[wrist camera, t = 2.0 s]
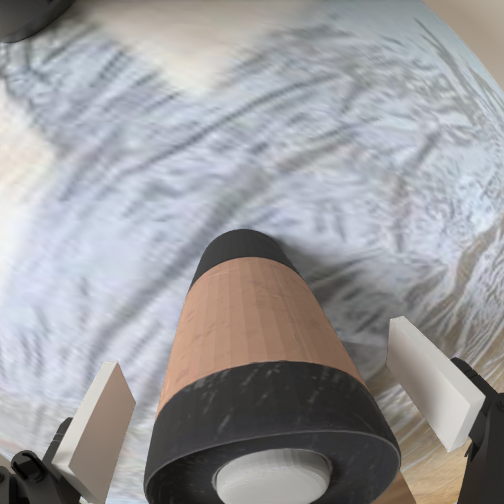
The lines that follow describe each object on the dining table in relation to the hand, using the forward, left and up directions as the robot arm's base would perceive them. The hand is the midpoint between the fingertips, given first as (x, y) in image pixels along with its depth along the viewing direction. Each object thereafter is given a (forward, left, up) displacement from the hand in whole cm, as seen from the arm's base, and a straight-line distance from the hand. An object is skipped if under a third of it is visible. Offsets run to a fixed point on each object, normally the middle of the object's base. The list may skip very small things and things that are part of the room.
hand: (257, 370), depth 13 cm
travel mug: (0, 0, -13) cm, 13 cm away
